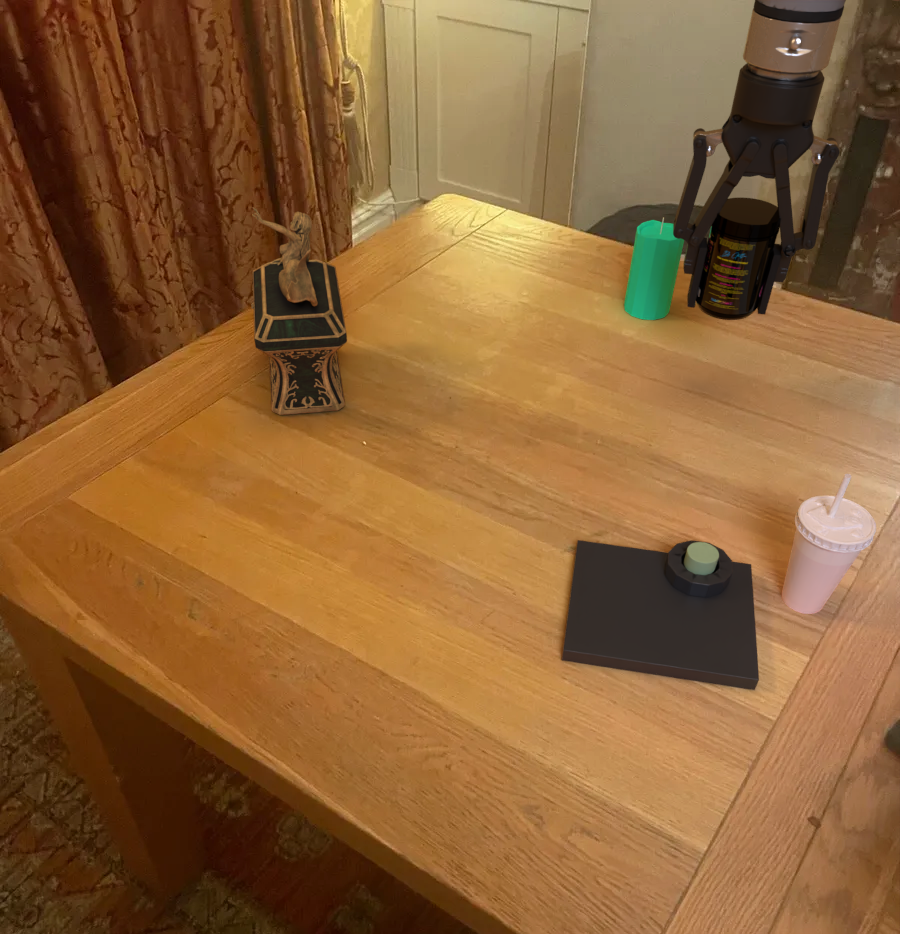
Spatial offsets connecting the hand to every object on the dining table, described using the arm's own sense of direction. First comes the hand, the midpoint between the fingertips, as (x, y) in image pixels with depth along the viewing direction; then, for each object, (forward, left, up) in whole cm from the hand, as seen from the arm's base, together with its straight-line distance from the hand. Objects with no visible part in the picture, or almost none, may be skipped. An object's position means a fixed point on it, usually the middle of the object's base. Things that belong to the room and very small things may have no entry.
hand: (725, 304), depth 98 cm
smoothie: (-9, +33, -11) cm, 36 cm away
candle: (+7, -18, -11) cm, 22 cm away
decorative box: (+45, +10, -11) cm, 48 cm away
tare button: (+1, +33, -8) cm, 34 cm away
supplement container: (0, 0, -1) cm, 1 cm away
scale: (+4, +38, -11) cm, 40 cm away
